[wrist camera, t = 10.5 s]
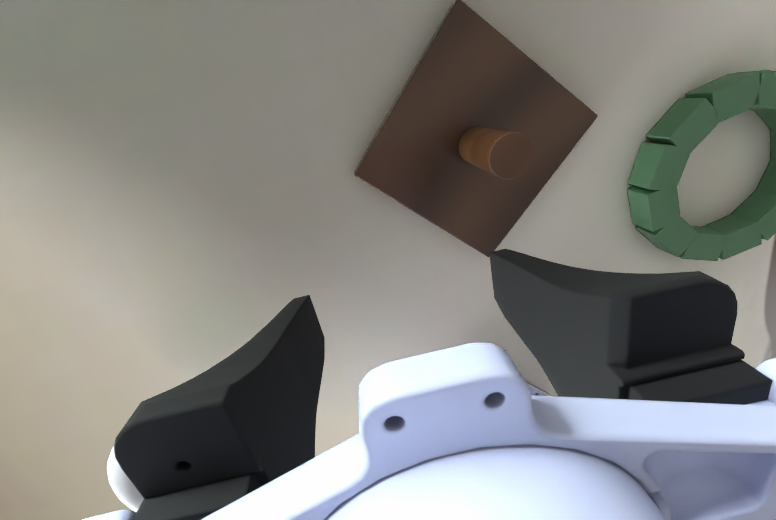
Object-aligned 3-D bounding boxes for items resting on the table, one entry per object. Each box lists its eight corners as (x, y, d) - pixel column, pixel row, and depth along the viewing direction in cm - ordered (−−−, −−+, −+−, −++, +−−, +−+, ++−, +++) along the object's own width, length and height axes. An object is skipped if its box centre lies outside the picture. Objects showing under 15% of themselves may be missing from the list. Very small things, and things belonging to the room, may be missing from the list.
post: (588, 115, 21) (670, 118, 16) (484, 252, 24) (522, 295, 19) (453, 2, 18) (494, -42, 13) (353, 172, 21) (353, 194, 16)
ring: (775, 26, 20) (812, 18, 18) (818, 180, 24) (852, 186, 22) (597, 159, 22) (617, 163, 21) (664, 281, 26) (685, 293, 25)
